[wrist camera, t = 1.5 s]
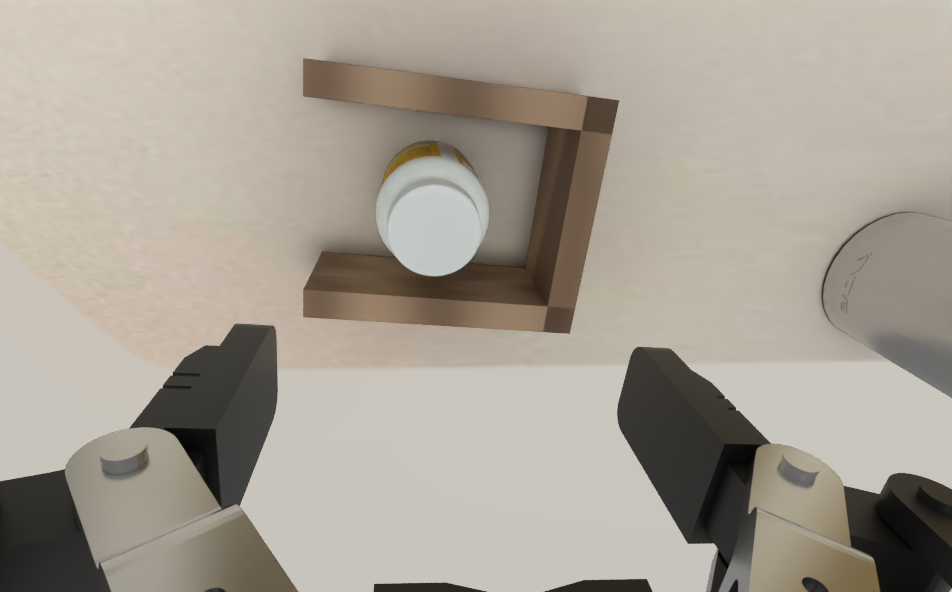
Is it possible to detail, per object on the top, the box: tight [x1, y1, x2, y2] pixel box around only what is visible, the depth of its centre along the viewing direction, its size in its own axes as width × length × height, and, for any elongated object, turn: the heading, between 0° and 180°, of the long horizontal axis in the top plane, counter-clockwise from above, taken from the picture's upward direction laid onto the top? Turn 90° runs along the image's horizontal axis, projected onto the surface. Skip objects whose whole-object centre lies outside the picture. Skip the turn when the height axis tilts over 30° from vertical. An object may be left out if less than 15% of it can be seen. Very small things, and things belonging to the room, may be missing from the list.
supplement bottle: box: [375, 141, 490, 276], centre depth 26 cm, size 5×5×10 cm
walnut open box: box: [303, 58, 619, 334], centre depth 28 cm, size 14×12×6 cm
